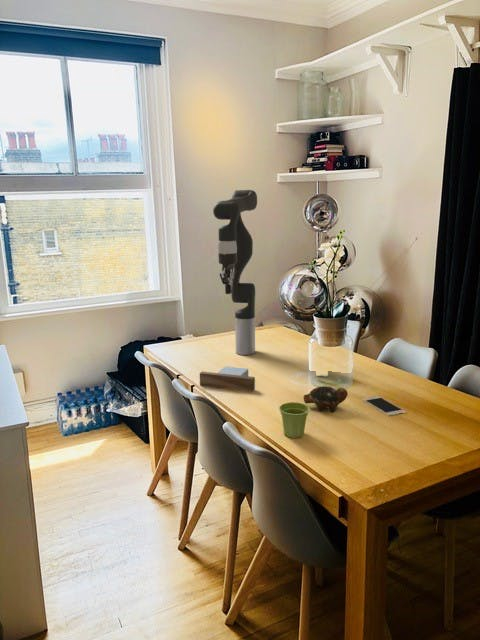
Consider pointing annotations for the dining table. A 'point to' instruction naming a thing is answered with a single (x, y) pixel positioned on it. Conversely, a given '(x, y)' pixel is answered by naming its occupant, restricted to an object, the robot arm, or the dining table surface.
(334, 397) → the decorative turtle
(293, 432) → the plant pot
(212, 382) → the board
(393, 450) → the dining table surface
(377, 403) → the smartphone
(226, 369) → the block
